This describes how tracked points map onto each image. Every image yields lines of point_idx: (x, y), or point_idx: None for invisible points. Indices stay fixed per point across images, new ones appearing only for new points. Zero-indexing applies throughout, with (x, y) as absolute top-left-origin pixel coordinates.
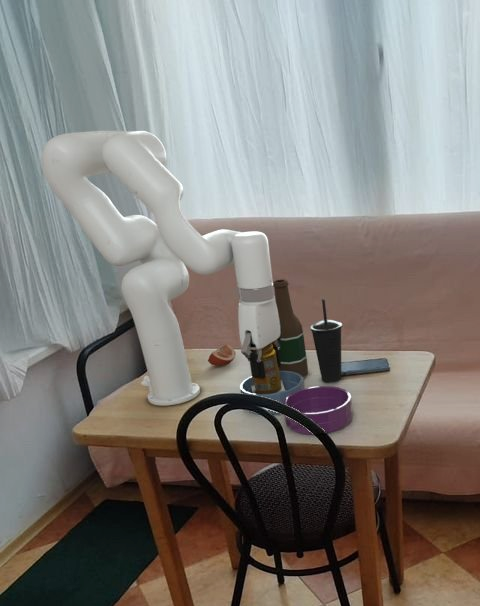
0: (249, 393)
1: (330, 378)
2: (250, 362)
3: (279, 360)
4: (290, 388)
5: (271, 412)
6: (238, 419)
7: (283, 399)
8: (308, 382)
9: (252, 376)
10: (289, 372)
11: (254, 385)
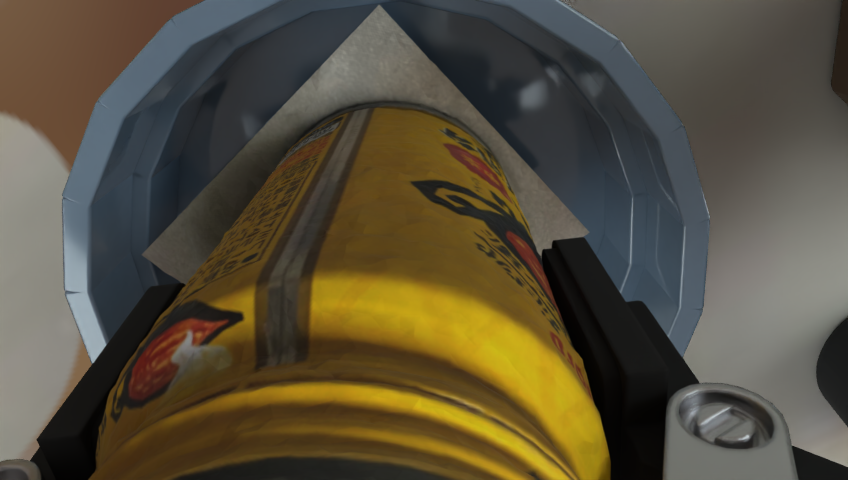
0: (70, 275)
1: (834, 408)
2: (59, 424)
3: None
4: (610, 235)
5: None
6: (21, 155)
7: None
8: (807, 237)
9: (156, 289)
10: (676, 304)
11: (403, 33)
